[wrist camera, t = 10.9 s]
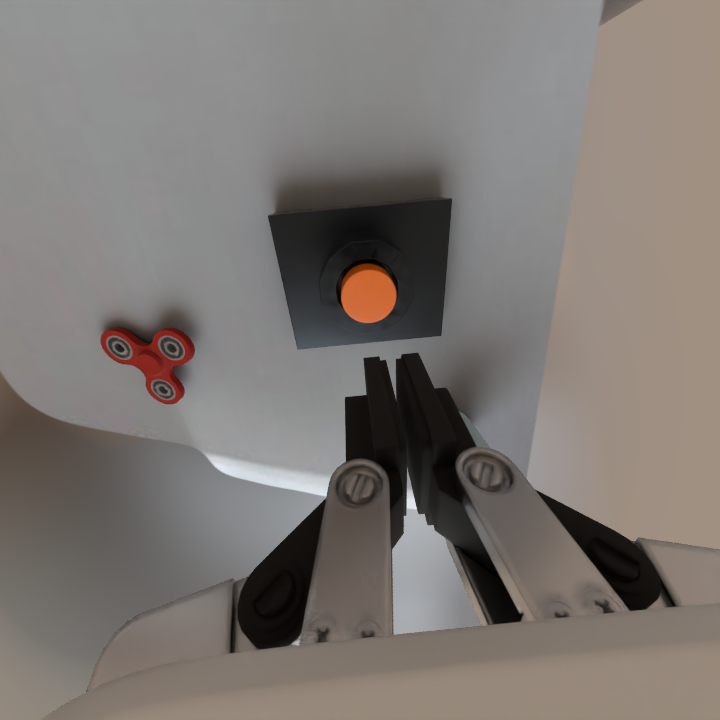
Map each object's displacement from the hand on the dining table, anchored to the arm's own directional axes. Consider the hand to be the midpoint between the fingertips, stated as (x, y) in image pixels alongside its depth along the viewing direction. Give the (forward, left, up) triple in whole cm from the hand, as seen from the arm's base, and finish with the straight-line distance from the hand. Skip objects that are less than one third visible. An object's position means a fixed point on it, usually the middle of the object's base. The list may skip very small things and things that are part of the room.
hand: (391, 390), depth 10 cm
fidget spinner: (+19, +5, -13) cm, 24 cm away
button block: (0, 0, -15) cm, 15 cm away
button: (0, 0, -11) cm, 11 cm away
